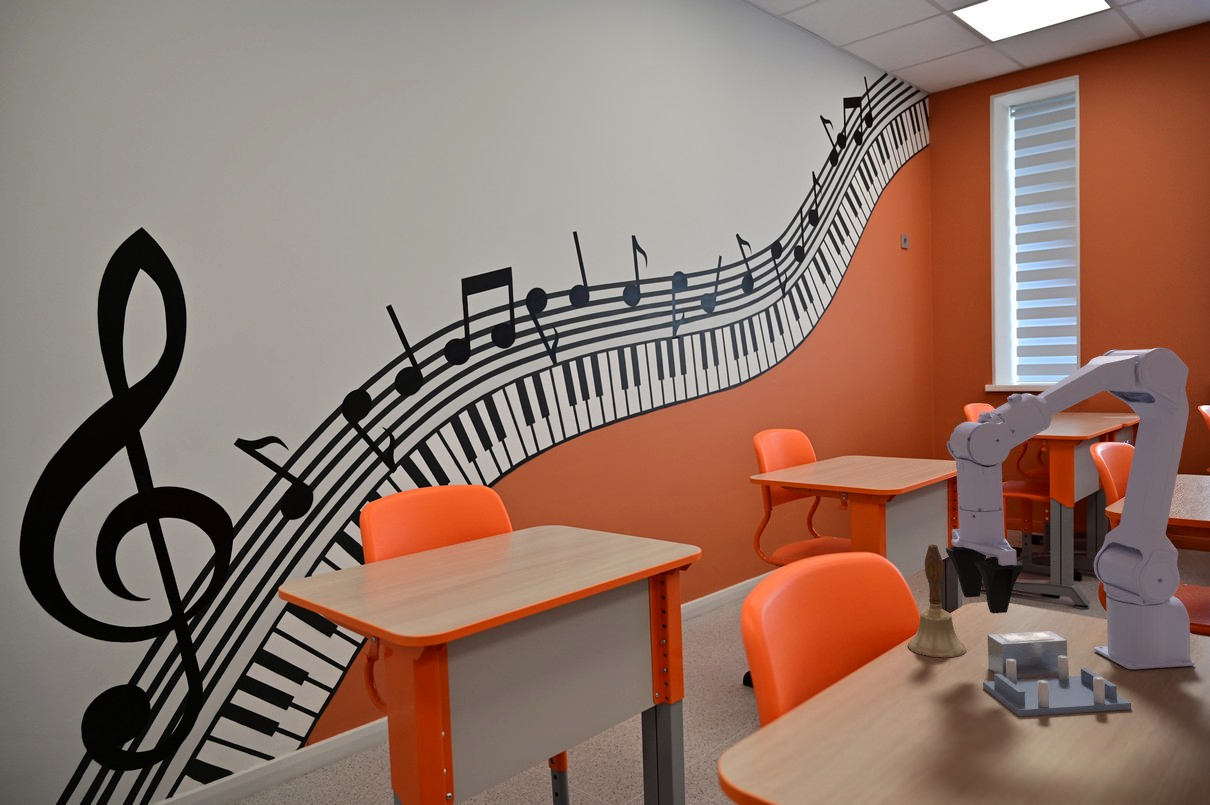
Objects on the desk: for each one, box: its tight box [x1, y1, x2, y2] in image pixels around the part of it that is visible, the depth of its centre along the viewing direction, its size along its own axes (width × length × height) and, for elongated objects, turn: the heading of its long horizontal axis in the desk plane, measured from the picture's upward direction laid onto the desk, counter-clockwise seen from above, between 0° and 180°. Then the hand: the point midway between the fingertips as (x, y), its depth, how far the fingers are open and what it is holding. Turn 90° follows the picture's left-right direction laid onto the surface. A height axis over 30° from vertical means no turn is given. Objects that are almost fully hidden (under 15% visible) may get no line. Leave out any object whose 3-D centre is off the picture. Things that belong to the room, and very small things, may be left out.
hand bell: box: [907, 544, 967, 659], centre depth 124 cm, size 8×8×16 cm
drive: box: [987, 630, 1068, 679], centre depth 113 cm, size 9×4×5 cm, turn 92°
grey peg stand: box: [982, 655, 1132, 717], centre depth 104 cm, size 14×9×4 cm, turn 92°
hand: (984, 604), depth 114 cm, fingers open, 7 cm apart
